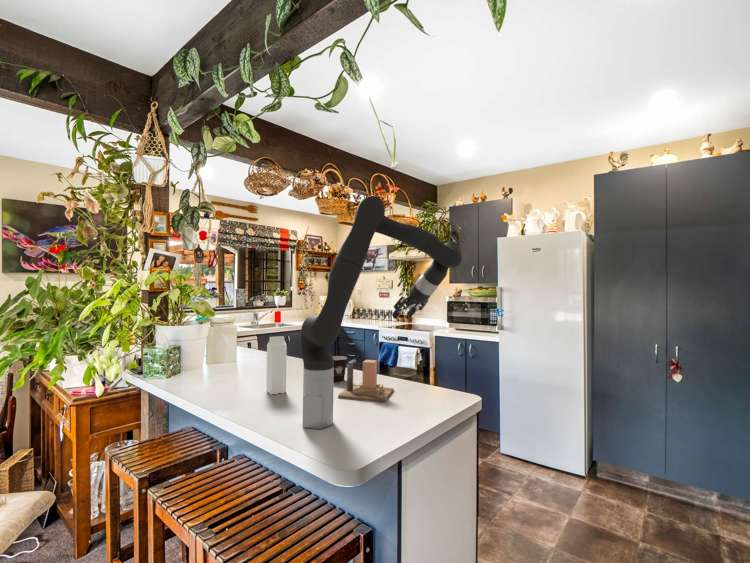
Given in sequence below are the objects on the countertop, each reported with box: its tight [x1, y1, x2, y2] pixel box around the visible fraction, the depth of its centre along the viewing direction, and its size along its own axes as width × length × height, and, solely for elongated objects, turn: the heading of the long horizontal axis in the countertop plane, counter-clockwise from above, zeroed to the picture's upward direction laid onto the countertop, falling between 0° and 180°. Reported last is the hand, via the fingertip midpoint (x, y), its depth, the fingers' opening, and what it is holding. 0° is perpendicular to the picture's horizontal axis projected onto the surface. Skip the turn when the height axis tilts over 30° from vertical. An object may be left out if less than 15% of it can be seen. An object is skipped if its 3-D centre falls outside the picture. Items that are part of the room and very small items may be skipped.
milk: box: [265, 335, 288, 396], centre depth 148 cm, size 6×6×22 cm
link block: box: [362, 359, 378, 390], centre depth 146 cm, size 4×4×12 cm
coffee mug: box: [331, 355, 348, 383], centre depth 167 cm, size 12×9×10 cm
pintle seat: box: [337, 359, 394, 403], centre depth 146 cm, size 16×18×12 cm
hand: (401, 316), depth 146 cm, fingers open, 8 cm apart
